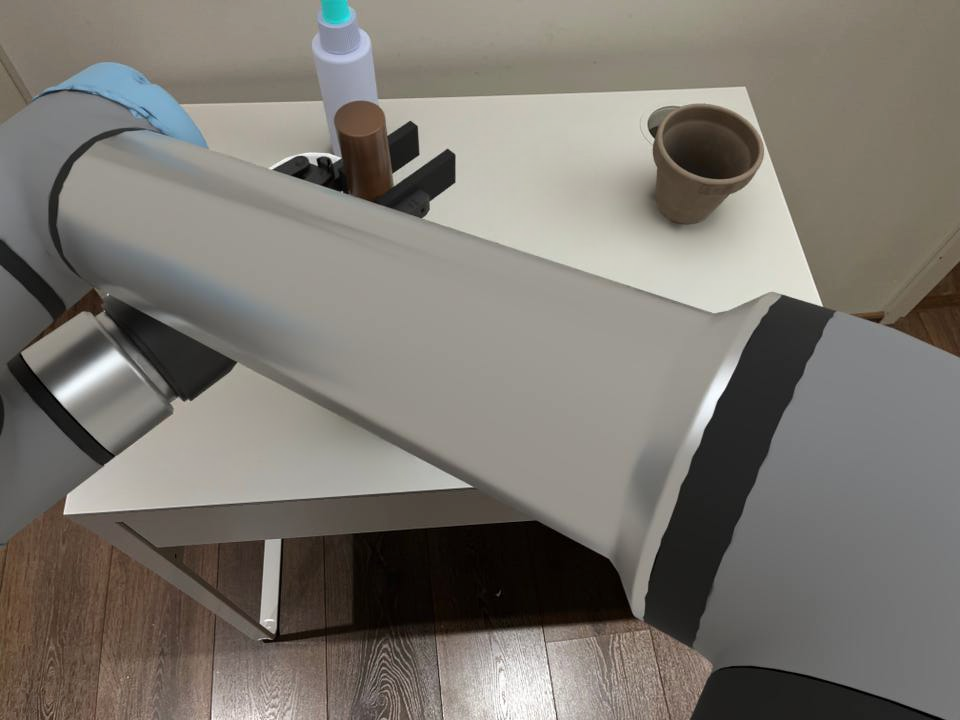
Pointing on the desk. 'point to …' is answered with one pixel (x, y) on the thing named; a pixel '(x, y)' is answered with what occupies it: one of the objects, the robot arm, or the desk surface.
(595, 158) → the desk surface
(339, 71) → the spray bottle
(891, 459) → the robot arm
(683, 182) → the flower pot
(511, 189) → the desk surface
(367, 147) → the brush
